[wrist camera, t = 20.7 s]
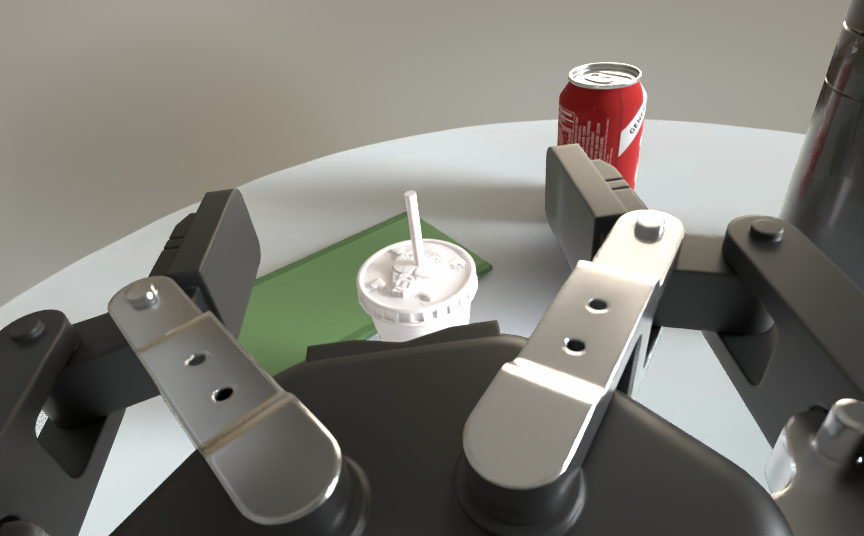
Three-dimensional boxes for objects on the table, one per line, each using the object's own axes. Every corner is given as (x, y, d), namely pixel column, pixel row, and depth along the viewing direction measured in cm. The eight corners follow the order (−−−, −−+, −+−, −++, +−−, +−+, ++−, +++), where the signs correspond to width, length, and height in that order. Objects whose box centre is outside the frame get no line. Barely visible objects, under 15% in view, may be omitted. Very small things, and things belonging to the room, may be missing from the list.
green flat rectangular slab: (409, 213, 52) (409, 210, 51) (492, 269, 43) (492, 265, 43) (179, 319, 42) (177, 315, 42) (229, 414, 34) (227, 410, 34)
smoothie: (498, 369, 35) (491, 175, 26) (461, 450, 30) (439, 247, 22) (410, 346, 37) (378, 162, 29) (364, 418, 33) (310, 224, 24)
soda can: (596, 234, 46) (610, 95, 39) (539, 205, 50) (542, 76, 43) (647, 205, 49) (669, 70, 41) (588, 180, 53) (599, 55, 46)
